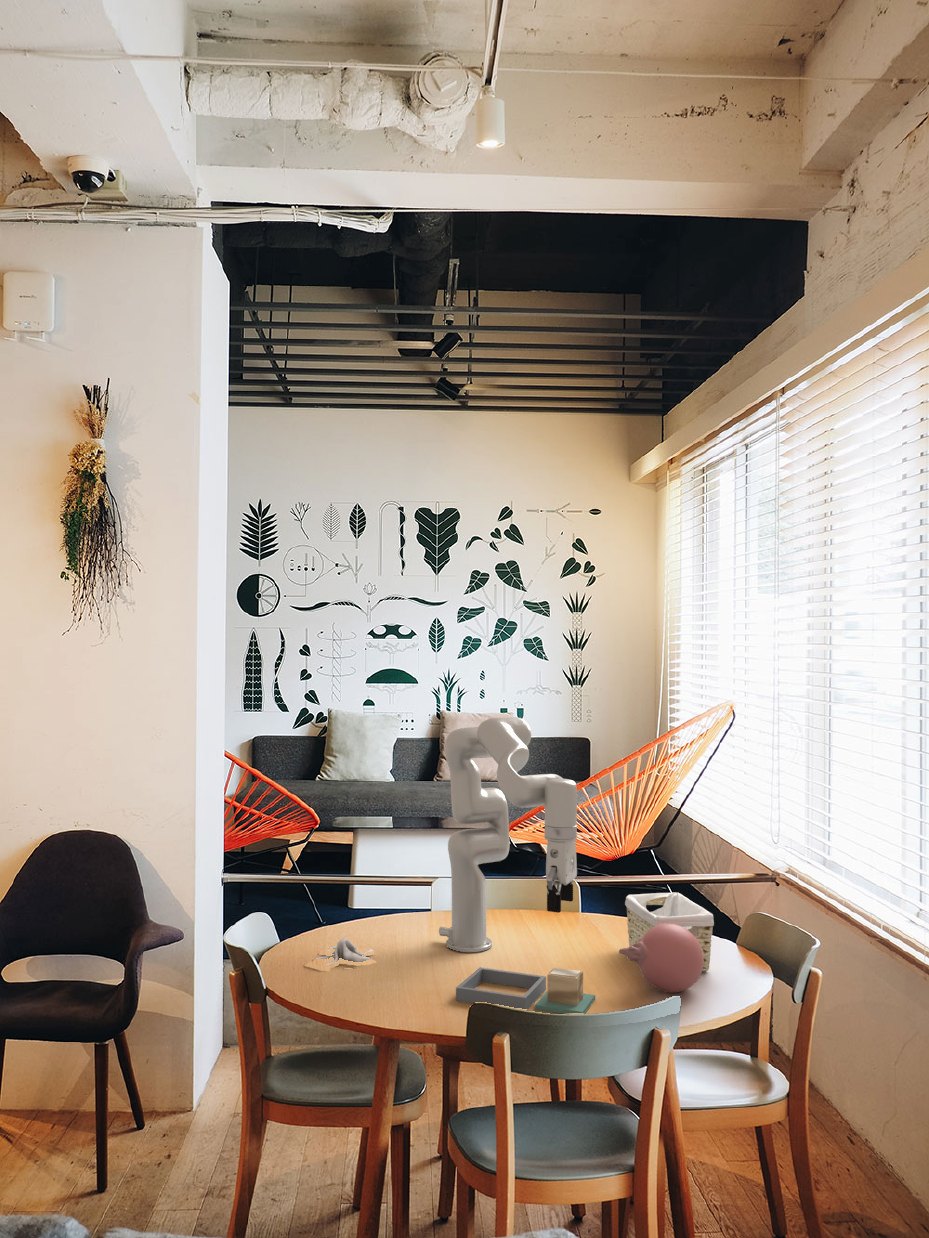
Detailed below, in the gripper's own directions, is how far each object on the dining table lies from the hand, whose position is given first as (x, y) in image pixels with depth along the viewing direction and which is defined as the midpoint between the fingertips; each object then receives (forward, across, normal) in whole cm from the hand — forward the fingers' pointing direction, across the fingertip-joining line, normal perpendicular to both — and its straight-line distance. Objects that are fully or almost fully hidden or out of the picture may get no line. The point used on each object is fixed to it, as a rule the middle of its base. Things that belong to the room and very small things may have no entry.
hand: (560, 905), depth 214 cm
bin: (+21, -4, +13) cm, 25 cm away
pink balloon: (+21, +13, -21) cm, 33 cm away
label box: (+20, -4, -2) cm, 20 cm away
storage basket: (+22, +36, -18) cm, 46 cm away
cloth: (+23, +3, +59) cm, 63 cm away
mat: (+21, -4, -3) cm, 21 cm away
